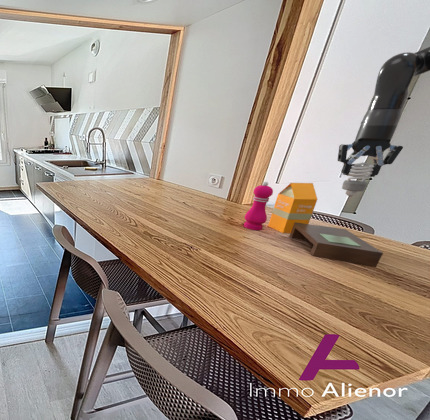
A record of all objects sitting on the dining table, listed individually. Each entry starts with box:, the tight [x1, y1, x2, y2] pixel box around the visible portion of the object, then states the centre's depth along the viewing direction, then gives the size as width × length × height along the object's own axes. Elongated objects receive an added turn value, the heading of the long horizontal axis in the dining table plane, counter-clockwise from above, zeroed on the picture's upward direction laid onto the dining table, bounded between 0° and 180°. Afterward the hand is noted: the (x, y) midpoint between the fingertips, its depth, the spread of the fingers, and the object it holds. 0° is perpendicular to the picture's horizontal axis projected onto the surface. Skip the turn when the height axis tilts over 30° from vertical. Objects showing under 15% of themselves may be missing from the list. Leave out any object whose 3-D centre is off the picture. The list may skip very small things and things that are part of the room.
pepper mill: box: [243, 181, 274, 231], centre depth 100 cm, size 7×7×20 cm
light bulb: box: [341, 161, 374, 197], centre depth 85 cm, size 6×6×12 cm
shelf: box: [289, 222, 384, 268], centre depth 83 cm, size 14×20×6 cm
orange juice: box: [267, 182, 318, 234], centre depth 99 cm, size 8×9×20 cm
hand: (358, 175), depth 85 cm, fingers closed on light bulb, 5 cm apart
